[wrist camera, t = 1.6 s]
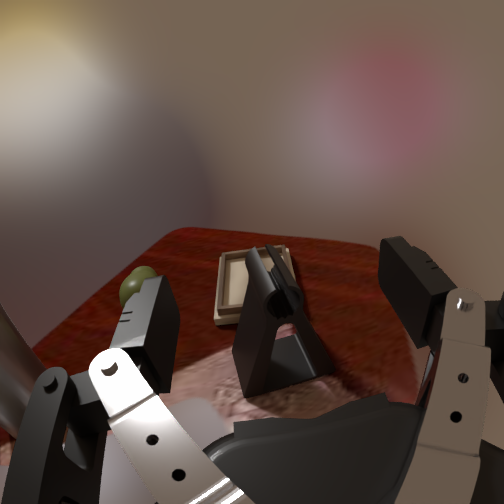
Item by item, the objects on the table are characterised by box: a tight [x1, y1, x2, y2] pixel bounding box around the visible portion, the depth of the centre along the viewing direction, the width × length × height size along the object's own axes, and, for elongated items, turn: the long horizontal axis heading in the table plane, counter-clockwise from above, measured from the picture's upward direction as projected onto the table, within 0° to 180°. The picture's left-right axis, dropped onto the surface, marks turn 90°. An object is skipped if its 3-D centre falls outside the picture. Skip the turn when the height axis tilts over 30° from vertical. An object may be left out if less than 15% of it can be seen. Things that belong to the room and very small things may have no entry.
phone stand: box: [232, 244, 336, 398], centre depth 27 cm, size 9×6×12 cm, turn 102°
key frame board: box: [214, 245, 296, 325], centre depth 40 cm, size 10×13×2 cm
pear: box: [120, 266, 157, 309], centre depth 40 cm, size 6×5×10 cm
